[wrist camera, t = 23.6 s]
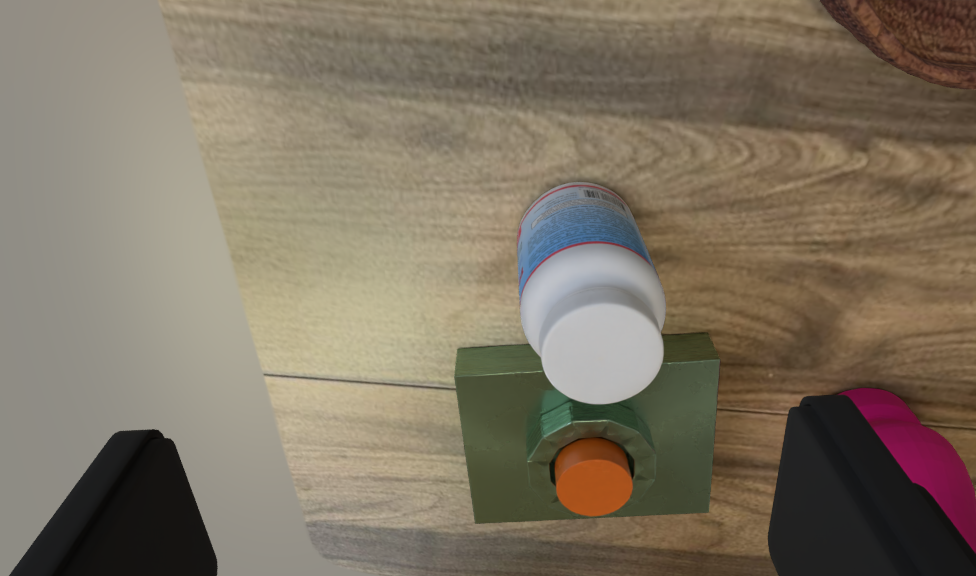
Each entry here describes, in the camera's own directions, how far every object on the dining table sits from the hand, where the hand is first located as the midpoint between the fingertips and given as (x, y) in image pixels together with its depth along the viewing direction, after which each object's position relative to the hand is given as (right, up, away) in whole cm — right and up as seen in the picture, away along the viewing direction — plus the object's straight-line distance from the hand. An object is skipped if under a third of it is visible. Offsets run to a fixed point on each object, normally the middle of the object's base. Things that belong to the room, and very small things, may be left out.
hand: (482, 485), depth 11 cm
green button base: (+6, -5, +31) cm, 32 cm away
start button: (+6, -7, +27) cm, 29 cm away
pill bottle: (+5, +6, +26) cm, 27 cm away
